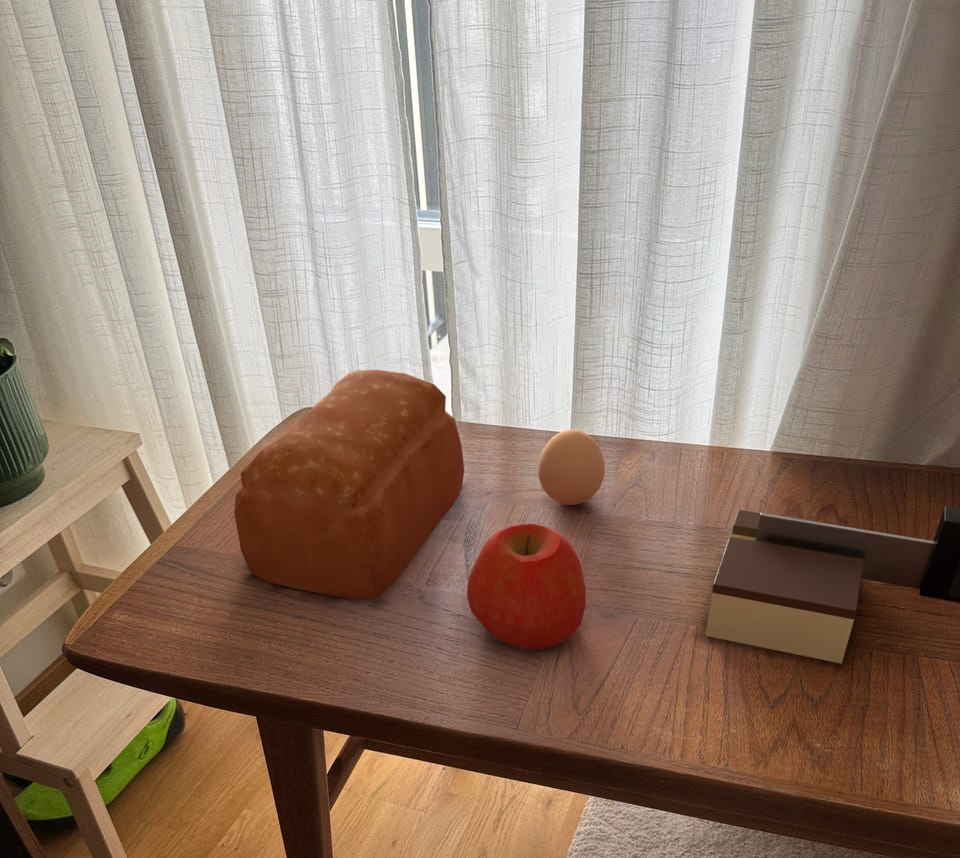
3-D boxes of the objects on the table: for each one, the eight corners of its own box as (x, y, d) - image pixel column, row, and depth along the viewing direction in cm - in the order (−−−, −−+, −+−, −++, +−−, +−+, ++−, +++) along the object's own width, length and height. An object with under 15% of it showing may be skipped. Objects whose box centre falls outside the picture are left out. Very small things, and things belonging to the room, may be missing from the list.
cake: (849, 611, 87) (863, 559, 83) (841, 664, 81) (856, 610, 77) (721, 587, 90) (729, 536, 87) (705, 636, 85) (713, 584, 81)
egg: (553, 479, 108) (554, 412, 102) (612, 491, 105) (616, 423, 100) (527, 509, 103) (526, 441, 97) (588, 523, 100) (591, 453, 95)
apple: (457, 655, 84) (450, 560, 77) (488, 586, 92) (483, 494, 85) (573, 672, 82) (576, 575, 75) (594, 600, 90) (598, 506, 83)
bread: (235, 579, 95) (201, 450, 85) (343, 466, 112) (325, 349, 103) (384, 610, 90) (365, 477, 80) (473, 487, 107) (467, 366, 98)
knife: (1003, 595, 82) (1034, 519, 77) (1004, 611, 81) (1036, 535, 75) (754, 550, 89) (767, 478, 84) (750, 565, 87) (763, 492, 82)
